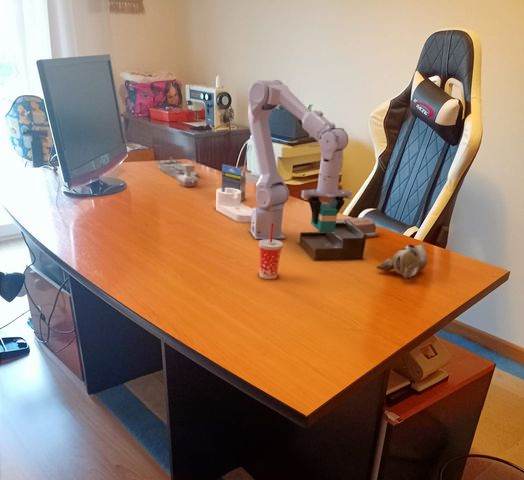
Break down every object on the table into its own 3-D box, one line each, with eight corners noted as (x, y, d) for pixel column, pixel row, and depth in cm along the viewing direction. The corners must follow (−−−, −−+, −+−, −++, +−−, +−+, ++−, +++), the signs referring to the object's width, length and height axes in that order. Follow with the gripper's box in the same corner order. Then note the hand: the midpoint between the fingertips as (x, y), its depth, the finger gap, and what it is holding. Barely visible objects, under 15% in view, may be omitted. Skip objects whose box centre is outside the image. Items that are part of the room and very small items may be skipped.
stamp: (200, 187, 211) (200, 166, 206) (186, 189, 207) (186, 167, 203) (189, 182, 217) (189, 161, 212) (175, 183, 213) (174, 162, 209)
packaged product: (363, 213, 177) (381, 222, 170) (361, 227, 180) (378, 237, 172) (319, 217, 170) (335, 226, 162) (317, 231, 172) (333, 241, 165)
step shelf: (314, 260, 149) (318, 235, 145) (299, 243, 161) (301, 219, 157) (362, 259, 153) (366, 234, 149) (343, 242, 165) (347, 219, 161)
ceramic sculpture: (441, 243, 142) (412, 258, 133) (435, 273, 147) (406, 288, 138) (408, 233, 148) (377, 246, 139) (403, 261, 153) (373, 276, 144)
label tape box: (245, 199, 200) (247, 166, 193) (239, 201, 197) (241, 168, 190) (226, 195, 203) (228, 162, 197) (220, 197, 200) (221, 164, 194)
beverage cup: (272, 282, 133) (276, 229, 126) (252, 276, 136) (255, 223, 129) (283, 275, 138) (289, 223, 131) (264, 269, 140) (268, 218, 133)
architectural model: (178, 180, 219) (178, 167, 217) (153, 167, 236) (152, 155, 234) (202, 178, 225) (203, 165, 223) (176, 165, 242) (176, 154, 240)
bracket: (211, 207, 188) (212, 188, 184) (232, 205, 192) (233, 186, 189) (240, 223, 174) (241, 203, 170) (262, 220, 178) (263, 201, 175)
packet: (319, 232, 149) (322, 209, 145) (310, 223, 155) (313, 201, 152) (334, 232, 150) (337, 209, 147) (324, 223, 156) (327, 201, 153)
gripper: (309, 178, 140) (303, 227, 147) (358, 179, 143) (351, 227, 150) (301, 172, 146) (296, 219, 153) (348, 173, 149) (341, 219, 156)
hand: (322, 223), depth 152 cm, fingers closed on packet, 4 cm apart
